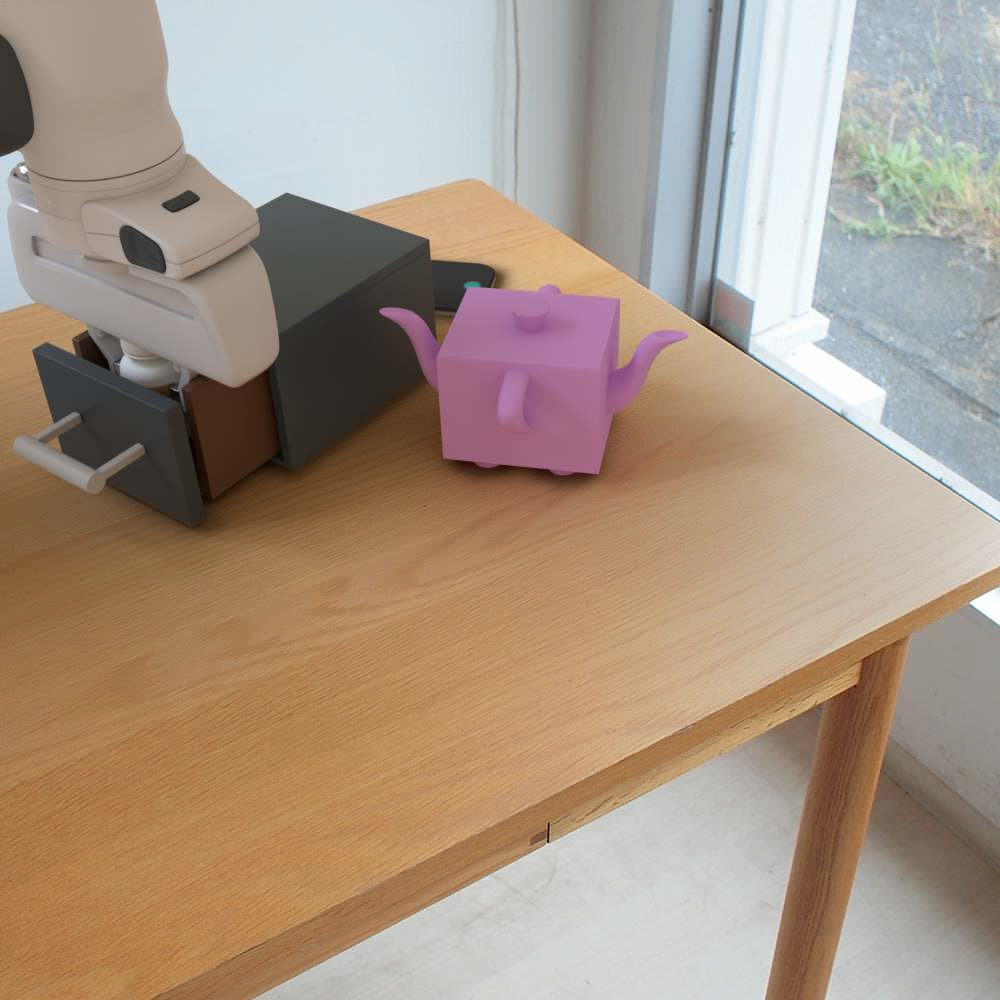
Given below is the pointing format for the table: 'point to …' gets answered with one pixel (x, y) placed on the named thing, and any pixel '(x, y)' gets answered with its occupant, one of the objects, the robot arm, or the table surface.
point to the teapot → (531, 376)
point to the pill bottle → (149, 371)
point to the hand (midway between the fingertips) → (161, 393)
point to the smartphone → (457, 283)
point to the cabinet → (338, 318)
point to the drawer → (148, 432)
